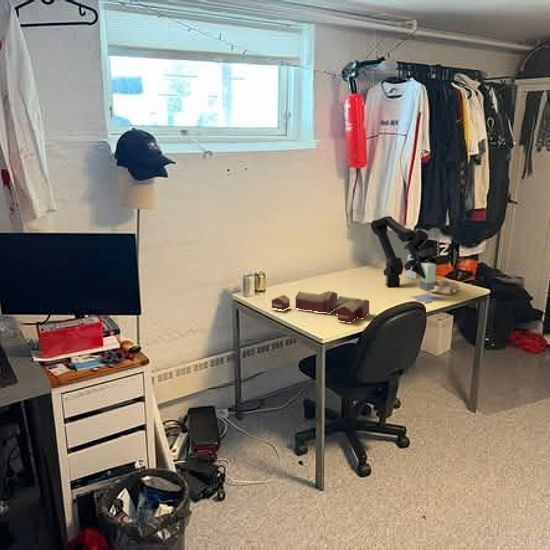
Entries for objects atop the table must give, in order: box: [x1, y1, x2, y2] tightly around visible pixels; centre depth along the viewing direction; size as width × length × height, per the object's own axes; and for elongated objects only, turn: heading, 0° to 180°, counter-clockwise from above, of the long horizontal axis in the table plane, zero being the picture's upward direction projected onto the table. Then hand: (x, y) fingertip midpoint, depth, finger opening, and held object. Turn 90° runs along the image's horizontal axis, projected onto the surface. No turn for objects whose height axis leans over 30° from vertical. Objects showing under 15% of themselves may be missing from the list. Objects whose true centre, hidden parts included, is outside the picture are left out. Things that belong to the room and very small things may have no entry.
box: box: [419, 262, 437, 292], centre depth 268 cm, size 5×5×13 cm
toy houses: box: [270, 290, 370, 323], centre depth 255 cm, size 45×20×10 cm, turn 60°
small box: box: [406, 254, 420, 280], centre depth 310 cm, size 8×6×13 cm
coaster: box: [411, 293, 443, 304], centre depth 271 cm, size 11×11×1 cm
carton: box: [428, 279, 460, 296], centre depth 281 cm, size 15×15×5 cm
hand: (429, 277), depth 267 cm, fingers closed on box, 5 cm apart
